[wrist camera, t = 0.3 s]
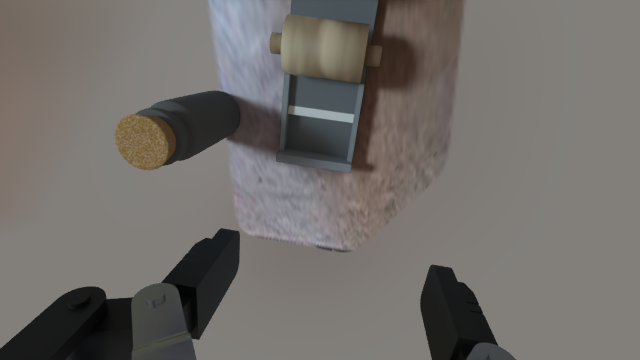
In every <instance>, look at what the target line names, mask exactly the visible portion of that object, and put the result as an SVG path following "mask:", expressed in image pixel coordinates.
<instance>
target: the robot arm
mask: <svg viewBox="0 0 640 360" xmlns="http://www.w3.org/2000/svg"><path fill="white" fill-rule="evenodd" d="M239 249H240V234H239V231H234V230H228V229H223V228H221V229H220V230H219V231H218V232H217V233H216V234H215V236H214V237H213V238H212V239H210V238H205V239H203V240H201V241H200V242H198V243H196V244H195V245H194V246H193V247H192V248H191V250H190V251H189V252H188V253H187V254H186V255H185V256H184V257H183V259H182V260H181V261H180V262H179V263H178V264H177V266H176V267H175V268H174V269H173V270H172V271H171V272H170V273H169V275H168V276H167V277H166V278H165V279H164V280H163V281H162V282H161V283H157V284H153V285H150V286H147V287H145V288H143V289H141V290H140V291H139V292H137V293H136V295H135V296H134V297H132V298H119V299H106V294H105V292H104V290H102V289H101V288H99V287H82V288H78V289H75V290H72V291H70V292H68V293H66V294H64V295H62V296H61V297H59V298H58V299H57V300H56V301H55V302H53V303H52V304H51V305H50V306H49V307H48V308H47V309H45V310H44V311H43V312H42V313H41V314H40V315H39V316H38V317H36V318H35V319H34V320H33V321H32V322H31V323H30V324H28V325H27V326H26V327H25V328H24V329H22V330H21V331H20V332H19V333H18V334H17V335H16V336H14V337H13V338H12V339H11V340H10V341H9V342H8V343H6V344H5V345H4V346H3V347H2V348H1V349H0V360H196V356H195V351H194V347H193V342H192V339H198V340H199V339H200V337H201V335H202V333H203V332H204V330H205V328H206V327H207V325H208V323H209V321H210V320H211V318H212V316H213V314H214V312H215V311H216V309H217V307H218V306H219V304H220V302H221V300H222V299H223V297H224V295H225V293H226V291H227V290H228V288H229V286H230V284H231V283H232V281H233V279H234V278H235V275H236V273H237V271H238V266H239ZM420 306H421V313H422V317H423V322H424V327H425V330H426V335H427V340H428V344H429V348H430V353H431V357H432V360H516V359H515V358H514V357H513V356H512V355H511V354H510V353H509V352H507V351H506V350H504V349H503V348H501V347H499V346H498V344H497V342H496V340H495V338H494V335H493V334H492V331H491V329H490V327H489V325H488V323H487V320H486V318H485V316H484V315H483V312H482V310H481V308H480V306H479V303H478V301H477V299H476V297H475V295H474V293H473V292H472V291H471V290H470V289H469V288H468V287H467V285H466V284H464V283H462V282H458V281H457V279H456V277H455V274H454V272H453V270H452V268H449V267H443V266H437V265H431V266H430V268H429V271H428V274H427V278H426V281H425V284H424V287H423V291H422V294H421V302H420Z"/></svg>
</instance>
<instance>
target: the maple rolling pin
mask: <svg viewBox="0 0 640 360" xmlns="http://www.w3.org/2000/svg"><path fill="white" fill-rule="evenodd" d="M369 26H370V24H366V23H357V22H349V21H341V20H332V19H324V18H316V17H307V16H299V15H291V14H288V15H287V17H286V19H285V22H284V26H283V31H282V33H275V32H272V34H271V37H270V52H271V53H274V54H281V65H282V70H283V72H284V73H287V74H294V75H302V76H309V77H317V78H324V79H332V80H339V81H346V82H354V83H360V82H361V76H362V70H363V65H366V66H374V67H379V65H380V60H381V55H382V48H383V46H378V45H370V44H367V39H368V33H369Z"/></svg>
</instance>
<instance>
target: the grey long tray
mask: <svg viewBox="0 0 640 360" xmlns="http://www.w3.org/2000/svg"><path fill="white" fill-rule="evenodd" d="M377 5H378V0H292V2H291V15H299V16H307V17H316V18H324V19H332V20H341V21H349V22H357V23H366V24H370V26H369V33H368V39H367V44H370V45H371V42H372V36H373V29H374V23H375V17H376V11H377ZM366 72H367V66H366V65H363V70H362V76H361V82H360V83H354V82H346V81H339V80H332V79H324V78H317V77H309V76H302V75H294V74H287V73H286V74H284V88H283V101H282V115H281V128H280V142H279V151H278V152H277V153H276V162H283V163H289V164H296V165H302V166H309V167H315V168H321V169H328V170H334V171H341V172H347V173H350V171H351V165H352V157H353V151H354V145H355V139H356V133H357V127H358V121H359V115H360V109H361V103H362V97H363V91H364V85H365V78H366Z"/></svg>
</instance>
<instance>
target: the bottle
mask: <svg viewBox="0 0 640 360" xmlns="http://www.w3.org/2000/svg"><path fill="white" fill-rule="evenodd" d="M239 121H240V112H239V109H238V106H237V104H236V102H235V101H234V100H233V99H232V98H231V97H230V96H229V95H227V94H226V93H223V92H220V91H208V92H202V93H197V94H193V95H188V96H183V97H178V98H174V99H169V100H165V101H161V102H158V103H156V104H154V105H153V106H151V107H150V108H148V109H144V110H141V111H139V112H137V113H136V114H133V115H129V116H126V117H124V118H123V119H122V120H121V121H120V122H119V123H118V125H117V127H116V130H115V142H116V145H117V148H118V150H119V152H120V154H121V155H122V156H123V157H124V159H125V160H126V161H127V162H129V163H130V164H131V165H133V166H135V167H137V168H139V169H143V170H153V169H157V168H159V167H161V166H164V165H169V164H172V163H173V162H175V161H181V160H185V159H188V158H190V157H192V156H194V155H196V154H198V153H200V152H201V151H203V150H205V149H206V148H208V147H210V146H212V145H214V144H215V143H217V142H219V141H220V140H222V139H224V138H226V137H227V136H229V135H230V134H232V133H233V132H234V131H235V130H236V129H237V127H238V125H239Z"/></svg>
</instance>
